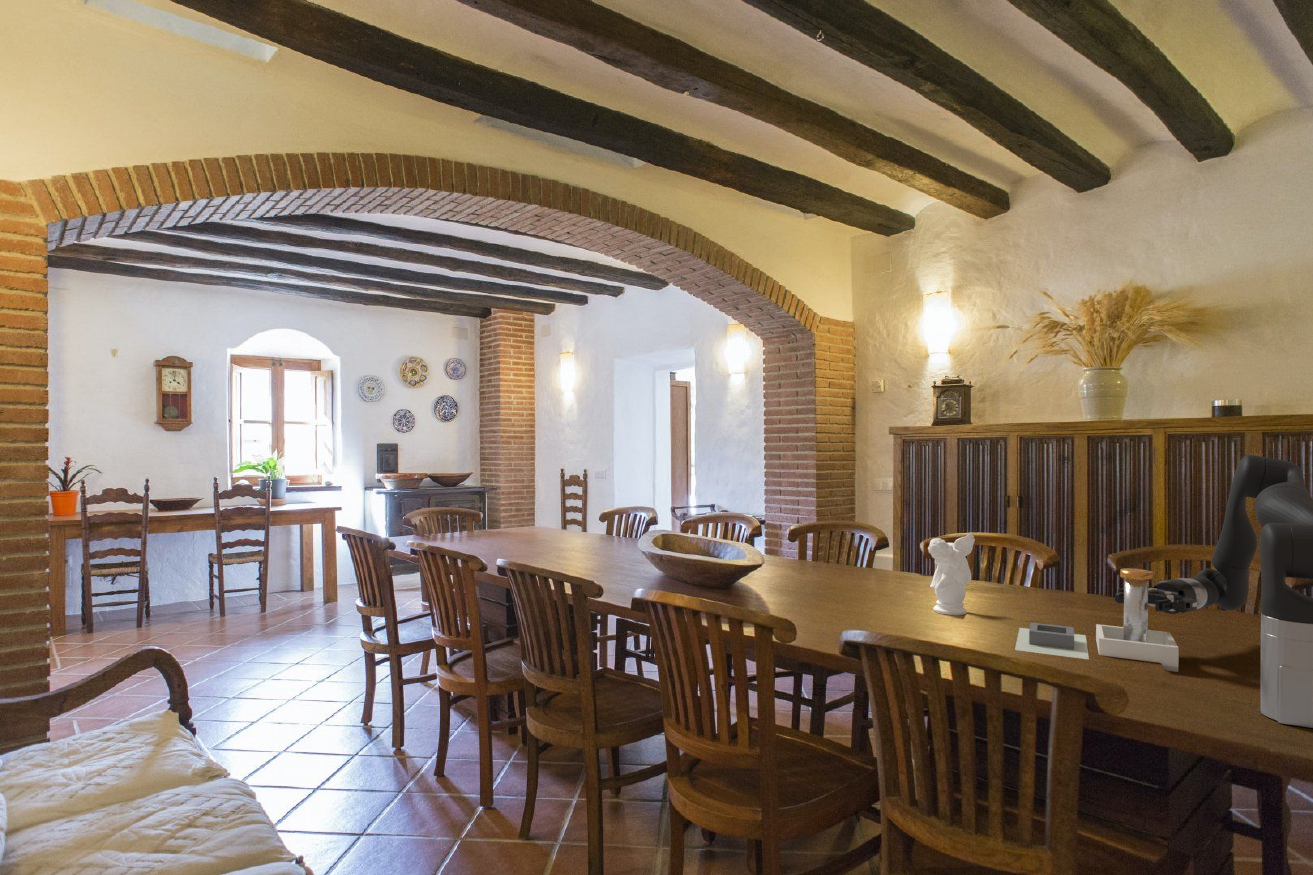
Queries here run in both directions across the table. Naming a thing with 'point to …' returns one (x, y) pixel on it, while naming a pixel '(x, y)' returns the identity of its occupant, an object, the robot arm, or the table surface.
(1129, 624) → the steel pin
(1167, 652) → the tray
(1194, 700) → the table surface
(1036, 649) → the hitch plate
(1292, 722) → the robot arm
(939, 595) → the cherub figurine
